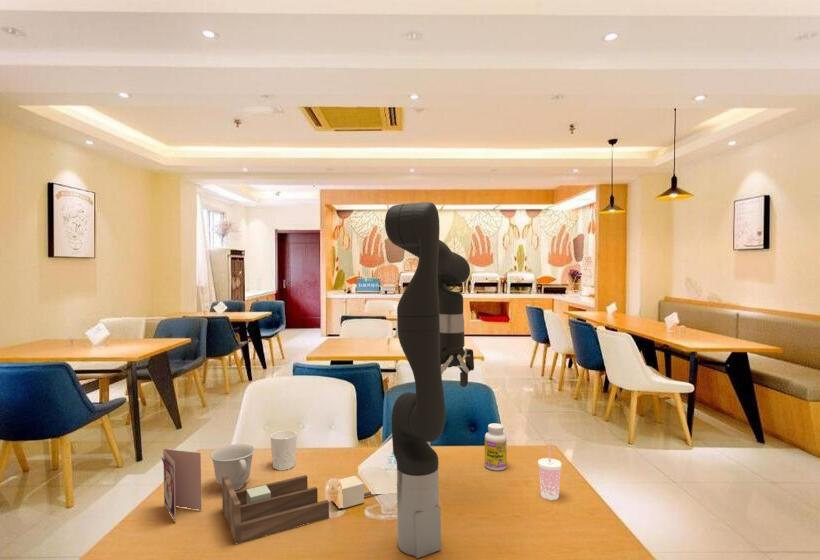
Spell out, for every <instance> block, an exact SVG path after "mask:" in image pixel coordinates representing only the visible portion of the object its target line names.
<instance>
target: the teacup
mask: <svg viewBox="0 0 820 560" xmlns="http://www.w3.org/2000/svg"><path fill="white" fill-rule="evenodd" d="M255 451H256V448H255V447H254V446H253V445H250V444H244V443H243V444H242V443H240V444H239V443H238V444H237V443H236V444H229V445H225V446H221V447H219V448H216V449H215V450H213V451H212V452H211V453H210V454H209V458H210V459H211V460H212V464H213V469H214V475H215V479H216V482H217V483H218V484H219V485H220V486H222V475H224V474H227V475H228V477H229V480H230V482H231V484H232V486H233V488H234V490H235V491H237V490H236V489H238V490H240V489H239V488H241V487H242V488H244V486H245V482H246V481H247V480H248V479H249V477H250V474H251V471H252V459H253V454H254V453H255ZM243 485H244V486H243ZM242 488H241V489H242Z"/></svg>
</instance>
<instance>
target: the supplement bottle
mask: <svg viewBox="0 0 820 560" xmlns="http://www.w3.org/2000/svg"><path fill="white" fill-rule="evenodd" d="M487 430H488V432H487V431H486V433H485V435H484V466H485V467H486V468H487V469H488V470H491V471H497V472H498V471H503V470H505V469H506V468H507V464H508V463H507V462H508V461H507V458H508V457H507V455H508V454H507V453H508V451H507V450H508V449H507V448H508V447H507V445H508V443H507V439H508V438H507V435H506V434H505V433H504V425H503V424H502V423H498V422H497V423H489V424H488V426H487Z"/></svg>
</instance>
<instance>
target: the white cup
mask: <svg viewBox="0 0 820 560" xmlns="http://www.w3.org/2000/svg"><path fill="white" fill-rule="evenodd" d="M297 437H298V436H297V432H296V431H294V430H279V431H275V432H273V433H271V434H270V447H271V448H270V449H271V459H272V468H273V469H274V468H275V469H277V470H276V471H287V470H286V469H288V470H291V469H293V468H294V467H295V466H296V456H297V455H296V454H297ZM292 467H293V468H292ZM290 468H291V469H290ZM275 469H274V470H275Z"/></svg>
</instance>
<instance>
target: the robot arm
mask: <svg viewBox="0 0 820 560" xmlns="http://www.w3.org/2000/svg"><path fill="white" fill-rule="evenodd" d="M438 211H439V210H438V208H437V206H436V205H435V203H433V202H432V201H431V202H430V201H425V202H422V201H421V202H413V203H410V202H409V203H399V204H396V205H395V204H394V205H392V206H391V207H389V208H388V210H387V211H386V214H385V218H384V229H385V233H386V236H387V238H388V239H389V241H390V242H391V243H392V244H394V246H396V247H398V248H400V249H403V250H404V251H406V252H408V253H409V254H412V255H413V256H415V257H417V258H418V262H417V265H416V269H415V272H414V273H413V276H412V278H411V280H410V281H409V283H408V284H407V286H406V288H405V290H404V291H403V293H402V295H401V297H400V299H399V301H398V303H397V307H396V315H397V316H396V319H397V320H396V322H397V324H396V325H397V327H396V328H397V336H398V340H399V341H398V342H399V344H400V347H401V349H402V352H403V354H404V355H405V358H406V360H407V363H408V364H409V366H410V368H411V369H410V370H411V371H412V375H413V377H414V378H413V379H414V384H415V392H411V391H410V392H407V391H406V392H404V393H402V394H400V395H399V396H398V397H397V398H396V400H395V402H394V404H393V406H392V412H391V420H390V421H391V423H390V424H391V437H392V438H391V440H392V451H393V455H394V458H395V461H396V485H397V488H396V514H397V515H396V520H397V523H396V525H397V526H396V527H397V532H396V533H397V546H398V547H397V548H398V549H399V550H400V551H401V552H402V553H404V554H406V555H408V556H414V557H415V558H416V559H420V558H423V557H425V556H428V555H431V554H434V553H436V552H439V551H441V550H442V525H441V524H442V523H441V522H442V520H441V519H442V518H441V516H442V515H441V514H442V511H441V510H442V509H441V506H440V505H439V503H440V500H439V495H440V494H439V487H440V486H439V456H438V454H437V452H436V451H435V450H434V449H433V447H430V446H429V444H428V443H427V442H436V441H437V440H438V439H439V438H440V437H441V435H443V431H444V428H445V426H446V425H445V424H446V416H447V415H446V414H447V413H446V401H445V400H446V399H445V393H444V386H443V376H442V375H443V374H444V372H445V371H447V369H448V368H452V367H457V368H458V369H459V371H460V372H459V378H460V379H459V386H460V387H463V388H467V386H468V383H469V373H470V372H471V371H474V370H475V360H474V359H475V358H474V350H473V349H472V348H464V347H465V345H466V344H465V343H466V342H465V318H464V317H465V316H464V296H463V294H462V293H461V292H458V291H453V290H450V289H449V288H448V285H447V284H463V283H465V282H466V281H467V280H468V279H469V277H470V275H471V269H470V268H471V267H470V264H469V262H468V260H467V259H466V258H465V257H464V256H462V255H460V254H458V253H457V252H454V251H452V250H451V249H450V248H449V246H448V245H447V243H445V242H443V241H442V240H440V215H439V212H438ZM463 358H464V359H463Z"/></svg>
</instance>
